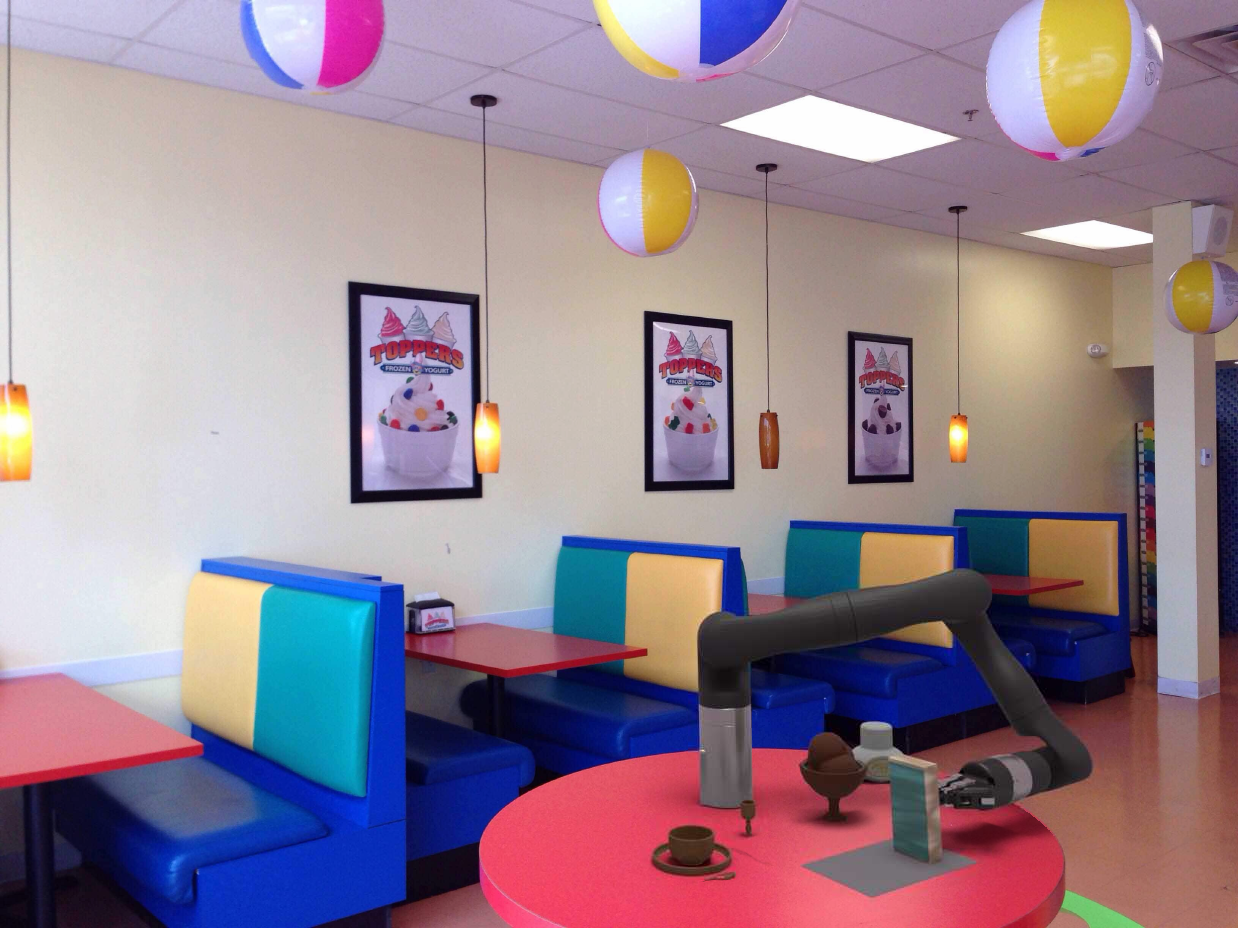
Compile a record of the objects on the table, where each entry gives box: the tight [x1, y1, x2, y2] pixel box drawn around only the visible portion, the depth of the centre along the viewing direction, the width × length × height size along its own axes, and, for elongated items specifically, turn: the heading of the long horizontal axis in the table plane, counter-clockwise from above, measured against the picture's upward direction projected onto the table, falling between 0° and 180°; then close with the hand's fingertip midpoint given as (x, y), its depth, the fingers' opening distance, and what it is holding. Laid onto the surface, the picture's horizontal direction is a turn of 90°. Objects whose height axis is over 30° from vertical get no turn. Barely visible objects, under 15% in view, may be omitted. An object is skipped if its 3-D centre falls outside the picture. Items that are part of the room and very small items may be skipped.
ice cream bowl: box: [798, 731, 868, 823], centre depth 170 cm, size 11×11×15 cm
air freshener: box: [852, 721, 905, 783], centre depth 194 cm, size 11×8×10 cm
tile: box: [888, 753, 943, 864], centre depth 152 cm, size 3×7×14 cm, turn 32°
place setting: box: [651, 799, 757, 881], centre depth 155 cm, size 18×20×6 cm
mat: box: [799, 837, 979, 898], centre depth 149 cm, size 22×14×1 cm, turn 122°
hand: (920, 801), depth 153 cm, fingers closed
